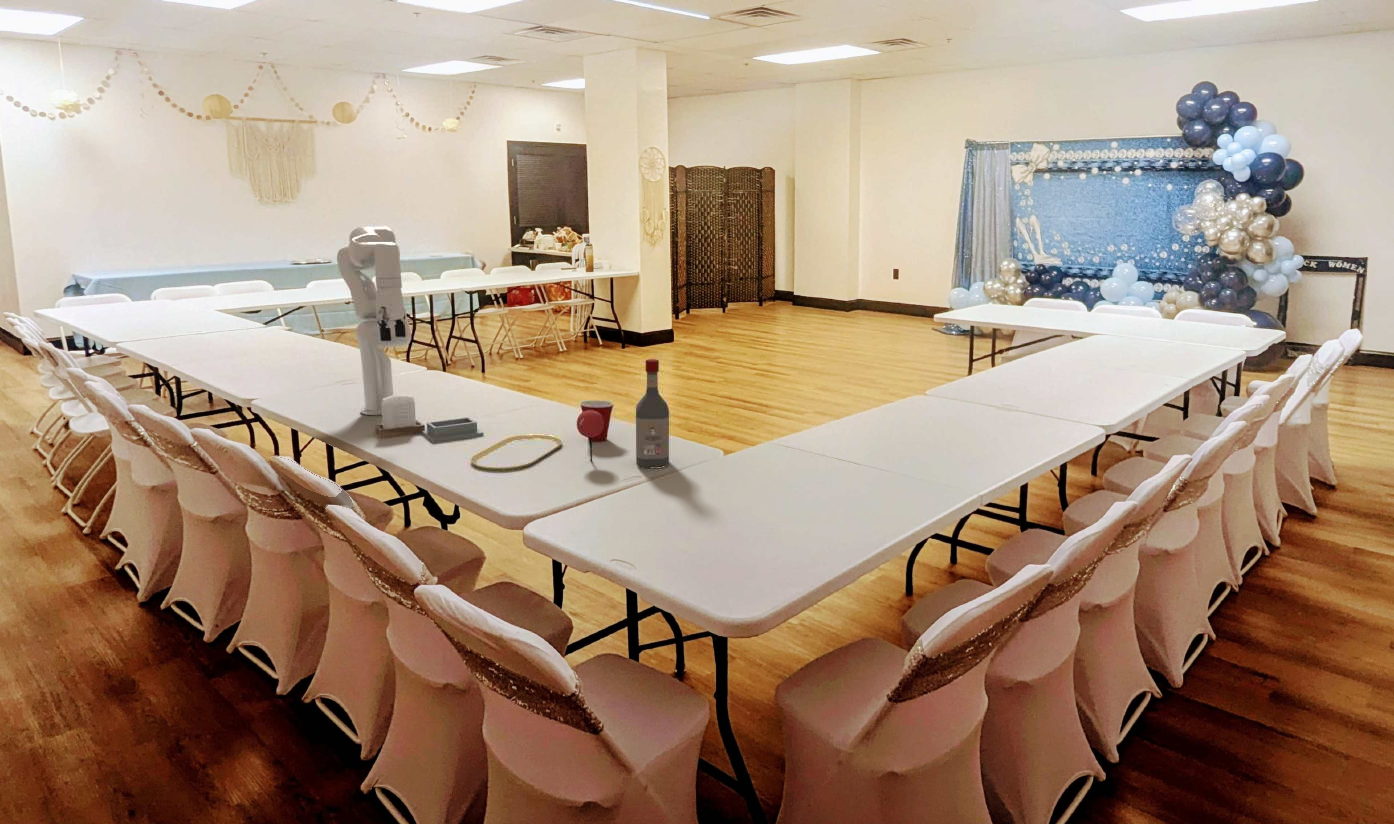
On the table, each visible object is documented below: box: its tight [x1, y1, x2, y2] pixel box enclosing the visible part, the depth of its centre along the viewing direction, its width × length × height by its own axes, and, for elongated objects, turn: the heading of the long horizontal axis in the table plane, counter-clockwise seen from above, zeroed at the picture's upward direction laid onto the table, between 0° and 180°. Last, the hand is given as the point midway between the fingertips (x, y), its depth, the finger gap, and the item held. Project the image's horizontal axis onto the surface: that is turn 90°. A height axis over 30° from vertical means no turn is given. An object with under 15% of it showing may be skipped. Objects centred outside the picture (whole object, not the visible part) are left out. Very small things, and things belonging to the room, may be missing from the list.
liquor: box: [635, 358, 670, 469], centre depth 254 cm, size 9×9×30 cm
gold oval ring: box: [470, 434, 563, 472], centre depth 266 cm, size 19×35×2 cm, turn 163°
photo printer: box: [381, 393, 417, 430], centre depth 286 cm, size 10×4×12 cm, turn 123°
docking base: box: [421, 416, 484, 444], centre depth 285 cm, size 12×16×4 cm
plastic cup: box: [578, 399, 615, 443], centre depth 281 cm, size 11×11×12 cm
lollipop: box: [576, 410, 604, 462], centre depth 258 cm, size 8×8×15 cm
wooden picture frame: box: [374, 419, 426, 439], centre depth 287 cm, size 8×14×2 cm, turn 122°
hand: (393, 338), depth 283 cm, fingers open, 9 cm apart
